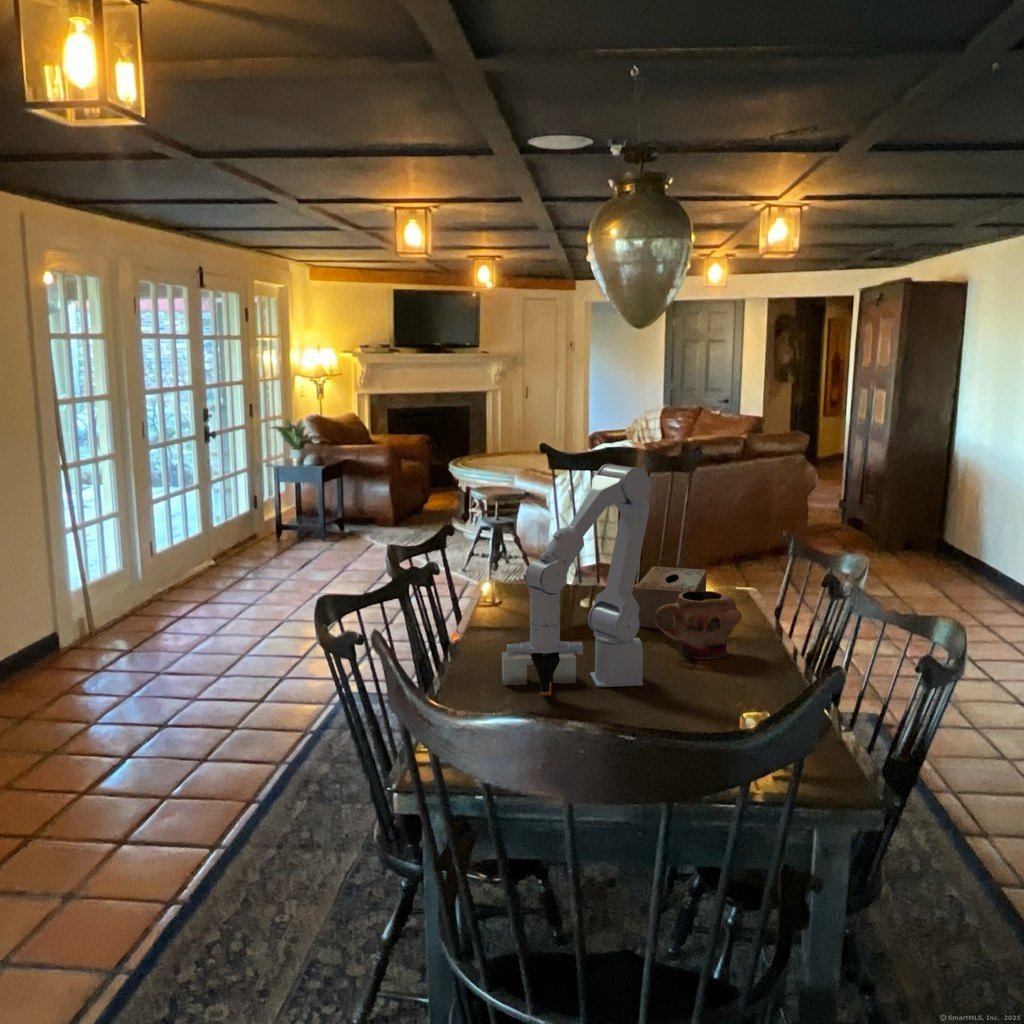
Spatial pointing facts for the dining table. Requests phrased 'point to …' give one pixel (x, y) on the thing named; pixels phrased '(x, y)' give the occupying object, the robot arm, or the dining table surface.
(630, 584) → the robot arm
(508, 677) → the block
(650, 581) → the tissue box cover
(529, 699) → the dining table surface
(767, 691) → the dining table surface
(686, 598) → the ceramic mug
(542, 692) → the wooden stick
